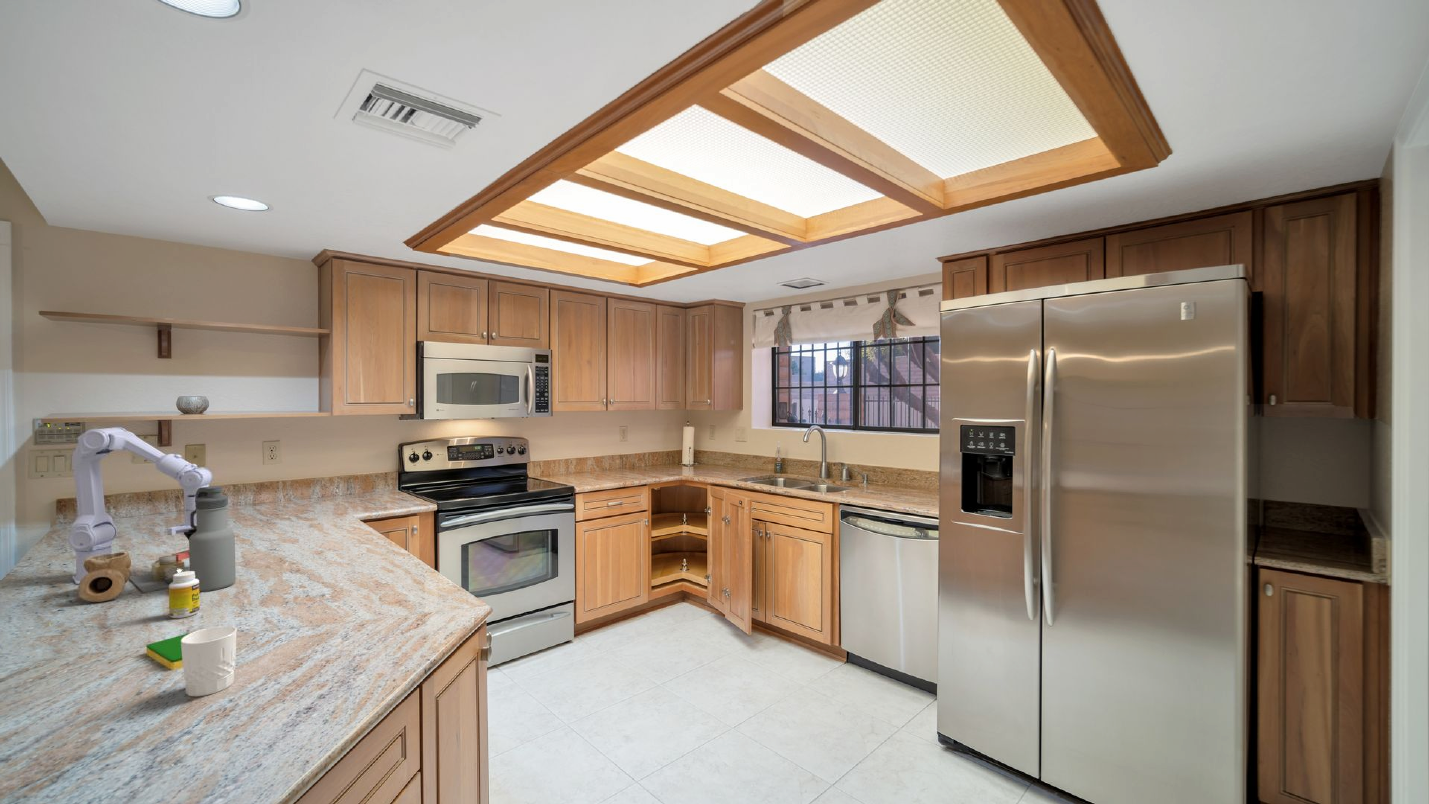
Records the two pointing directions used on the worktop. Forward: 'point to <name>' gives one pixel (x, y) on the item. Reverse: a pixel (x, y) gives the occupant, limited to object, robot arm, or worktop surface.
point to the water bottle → (212, 541)
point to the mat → (150, 582)
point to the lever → (174, 557)
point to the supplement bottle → (184, 595)
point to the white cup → (209, 660)
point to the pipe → (104, 576)
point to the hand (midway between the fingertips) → (198, 553)
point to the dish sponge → (167, 652)
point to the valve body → (166, 571)
